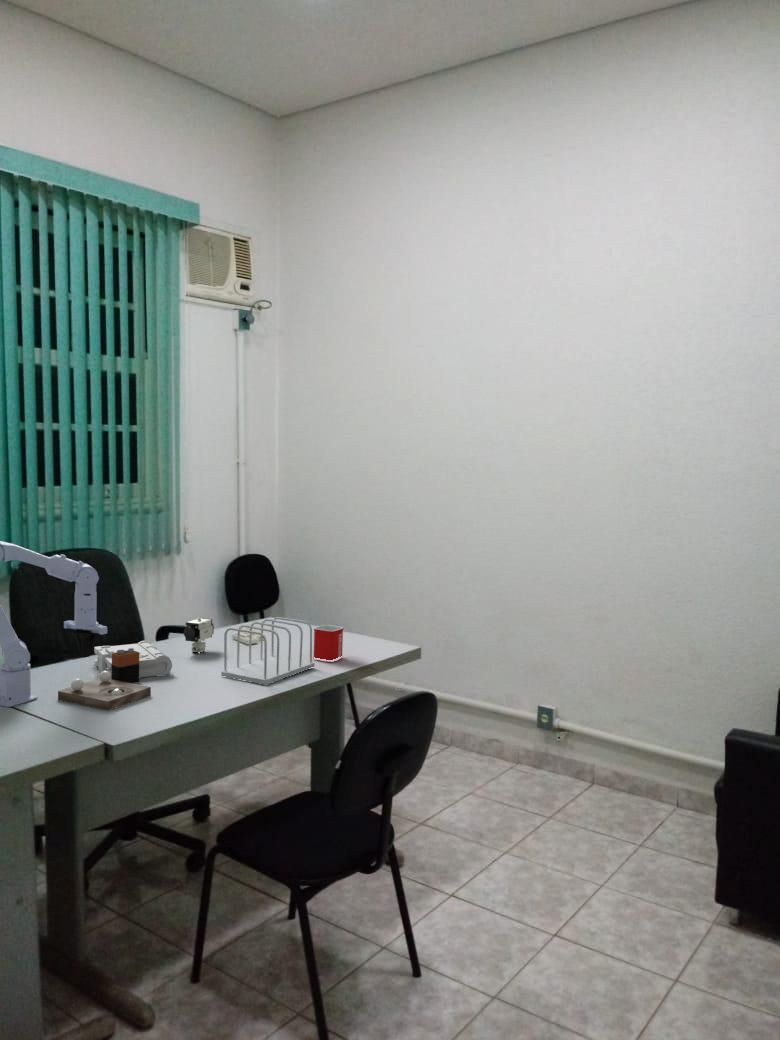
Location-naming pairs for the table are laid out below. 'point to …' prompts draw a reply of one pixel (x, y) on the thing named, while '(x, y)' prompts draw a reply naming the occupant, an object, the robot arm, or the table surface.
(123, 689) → the hole plate
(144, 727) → the table surface
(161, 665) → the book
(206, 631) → the pneumatic valve
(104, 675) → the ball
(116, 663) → the battery
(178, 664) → the table surface
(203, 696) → the table surface
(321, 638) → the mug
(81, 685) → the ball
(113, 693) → the steel ball
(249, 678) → the file sorter
